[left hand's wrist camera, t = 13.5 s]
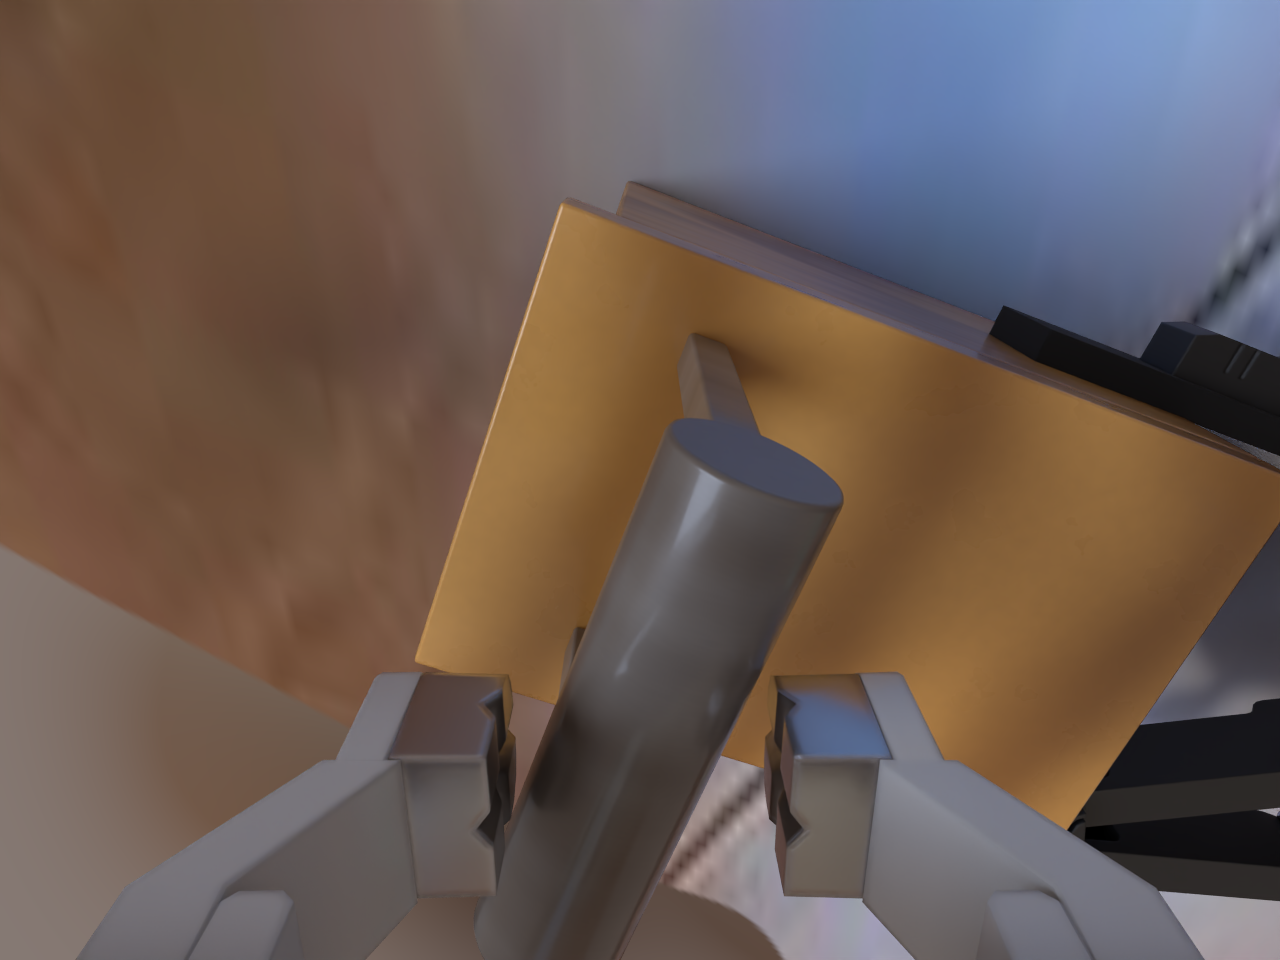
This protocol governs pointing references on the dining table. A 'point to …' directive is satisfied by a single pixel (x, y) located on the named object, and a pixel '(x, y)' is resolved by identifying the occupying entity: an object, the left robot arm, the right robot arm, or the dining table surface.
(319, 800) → the left robot arm
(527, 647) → the lid
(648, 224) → the chest
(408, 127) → the dining table surface
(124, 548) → the dining table surface
